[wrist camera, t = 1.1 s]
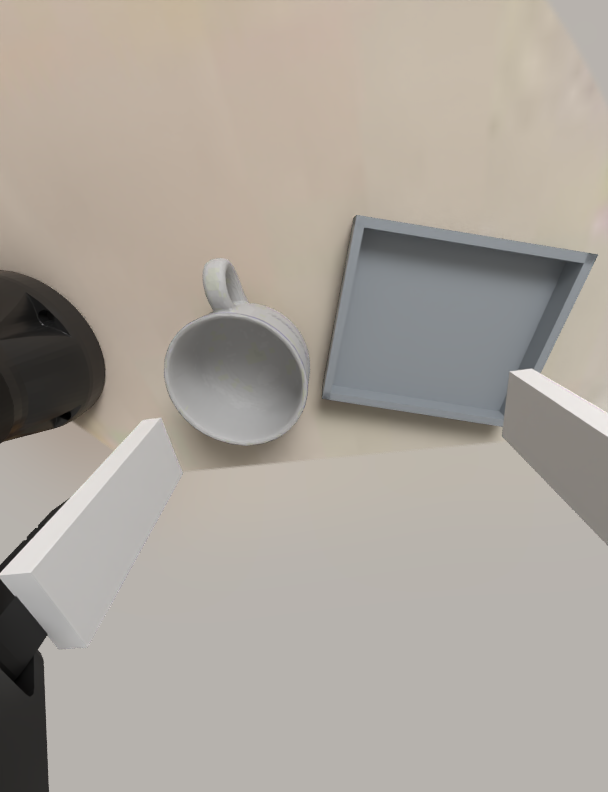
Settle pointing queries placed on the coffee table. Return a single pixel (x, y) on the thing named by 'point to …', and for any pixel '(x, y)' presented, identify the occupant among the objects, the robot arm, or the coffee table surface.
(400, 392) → the tray
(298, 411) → the teacup
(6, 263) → the coffee table surface
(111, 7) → the coffee table surface
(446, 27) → the coffee table surface
